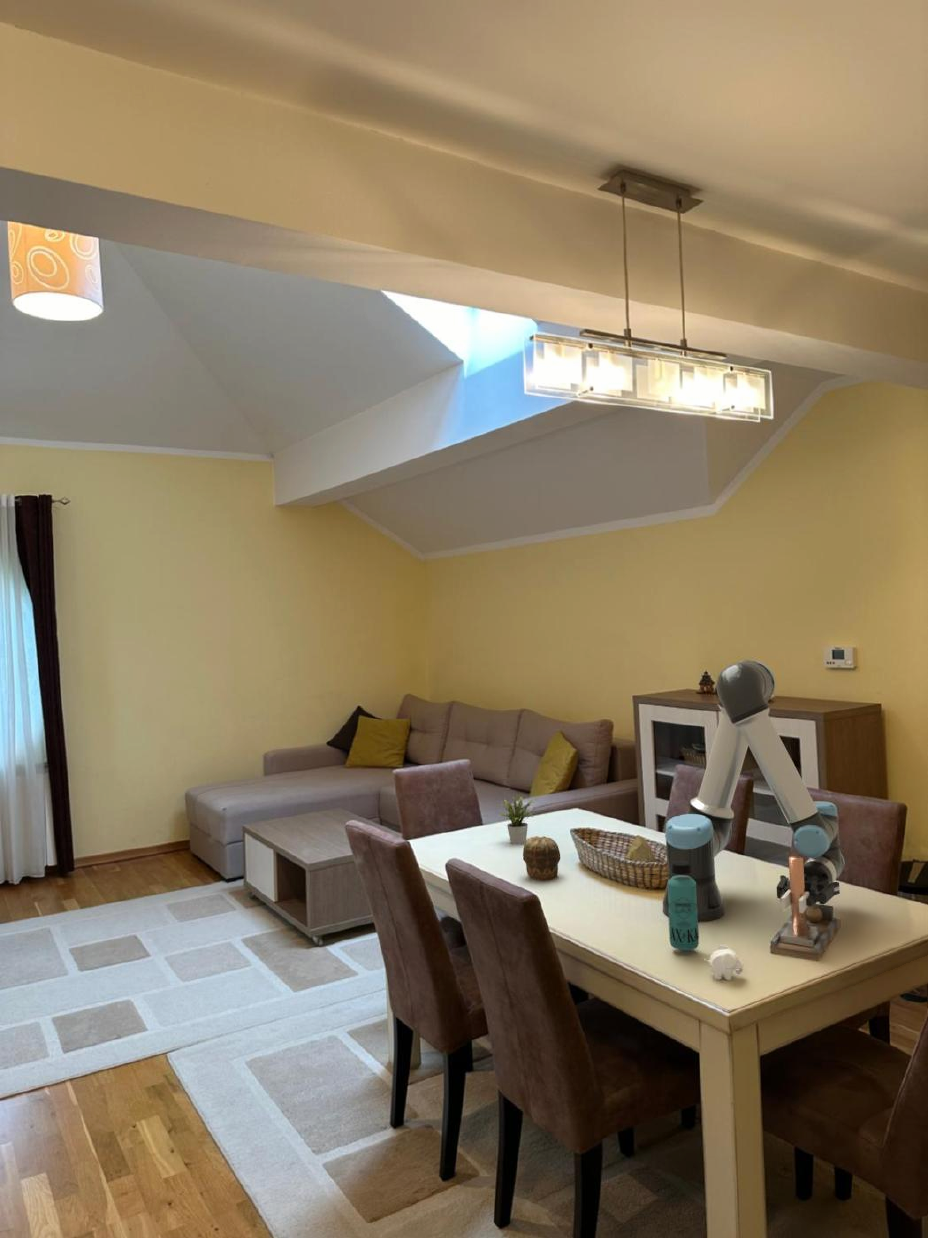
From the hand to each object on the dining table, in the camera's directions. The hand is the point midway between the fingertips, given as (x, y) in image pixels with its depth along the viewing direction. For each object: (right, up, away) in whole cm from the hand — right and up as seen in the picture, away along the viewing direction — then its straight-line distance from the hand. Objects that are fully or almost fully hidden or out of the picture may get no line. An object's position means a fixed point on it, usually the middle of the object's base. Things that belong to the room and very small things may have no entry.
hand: (791, 905), depth 186 cm
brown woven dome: (-48, -14, +67) cm, 84 cm away
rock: (-19, -13, +69) cm, 72 cm away
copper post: (+4, -9, +4) cm, 11 cm away
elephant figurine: (-17, -12, -9) cm, 23 cm away
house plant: (-52, -15, +107) cm, 120 cm away
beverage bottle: (-22, -12, +5) cm, 26 cm away
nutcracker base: (+7, -11, +9) cm, 16 cm away
